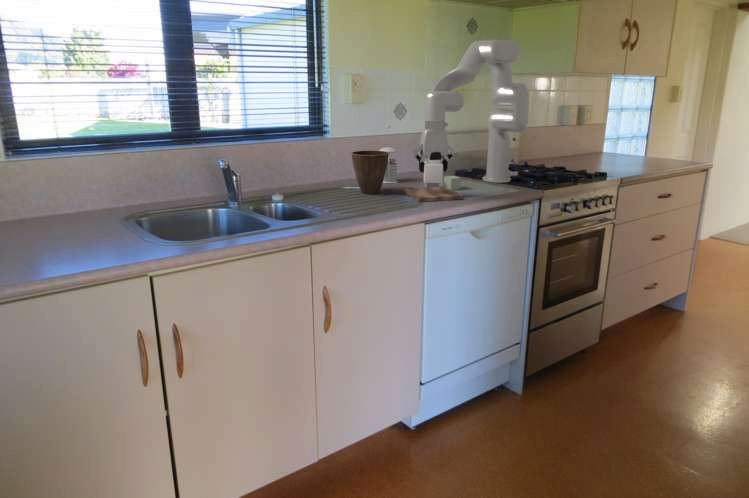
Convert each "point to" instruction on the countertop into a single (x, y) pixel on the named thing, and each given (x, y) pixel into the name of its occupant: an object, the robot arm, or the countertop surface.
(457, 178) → the sage block
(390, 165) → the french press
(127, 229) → the countertop surface
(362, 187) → the plant pot
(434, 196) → the walnut board
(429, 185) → the slate block
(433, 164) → the medicine bottle
